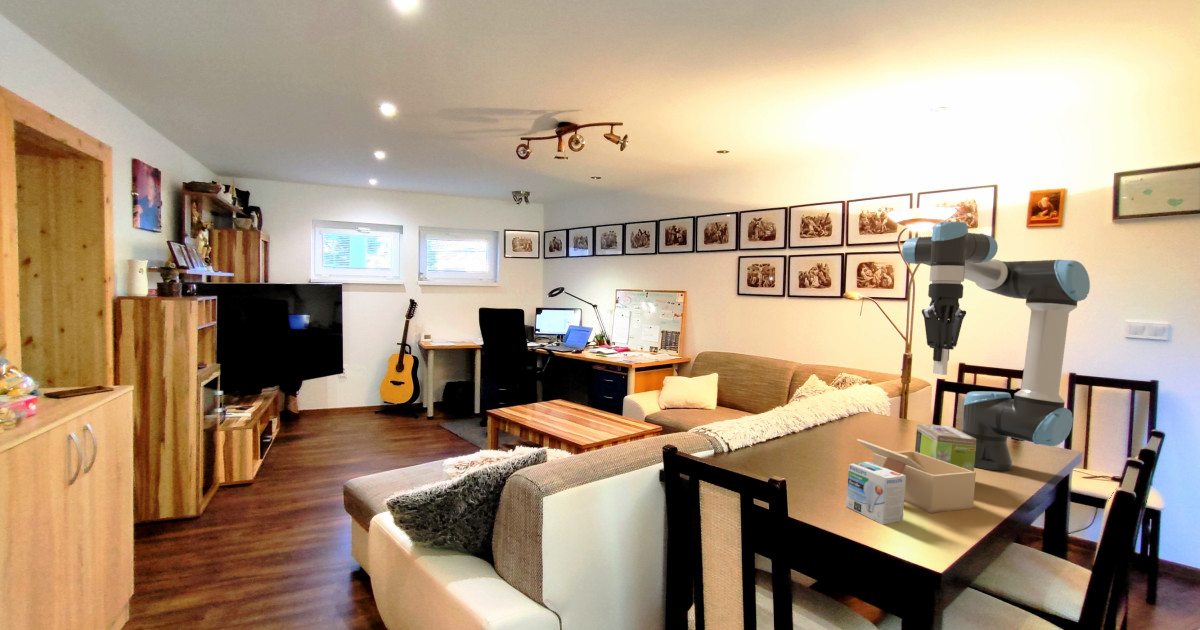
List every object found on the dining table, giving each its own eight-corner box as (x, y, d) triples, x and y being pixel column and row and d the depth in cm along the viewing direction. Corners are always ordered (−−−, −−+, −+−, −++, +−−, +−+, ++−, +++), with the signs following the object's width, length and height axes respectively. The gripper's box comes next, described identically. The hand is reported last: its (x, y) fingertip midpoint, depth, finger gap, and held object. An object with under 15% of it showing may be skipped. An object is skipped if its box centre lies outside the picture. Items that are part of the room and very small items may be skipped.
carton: (910, 482, 150) (912, 450, 149) (973, 508, 133) (975, 472, 132) (871, 486, 145) (873, 453, 145) (930, 513, 128) (933, 476, 128)
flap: (857, 438, 141) (844, 463, 140) (908, 456, 127) (893, 484, 126) (875, 451, 143) (862, 476, 142) (927, 470, 129) (913, 498, 128)
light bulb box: (844, 506, 130) (847, 463, 130) (864, 503, 133) (867, 460, 132) (883, 525, 120) (886, 478, 120) (904, 521, 123) (907, 475, 122)
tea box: (973, 492, 144) (978, 438, 143) (932, 488, 146) (936, 434, 145) (949, 474, 159) (952, 425, 158) (912, 470, 161) (915, 422, 160)
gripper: (951, 283, 143) (944, 371, 144) (914, 282, 139) (908, 372, 140) (978, 284, 136) (972, 375, 137) (940, 282, 132) (934, 376, 133)
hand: (939, 373), depth 139 cm, fingers closed
